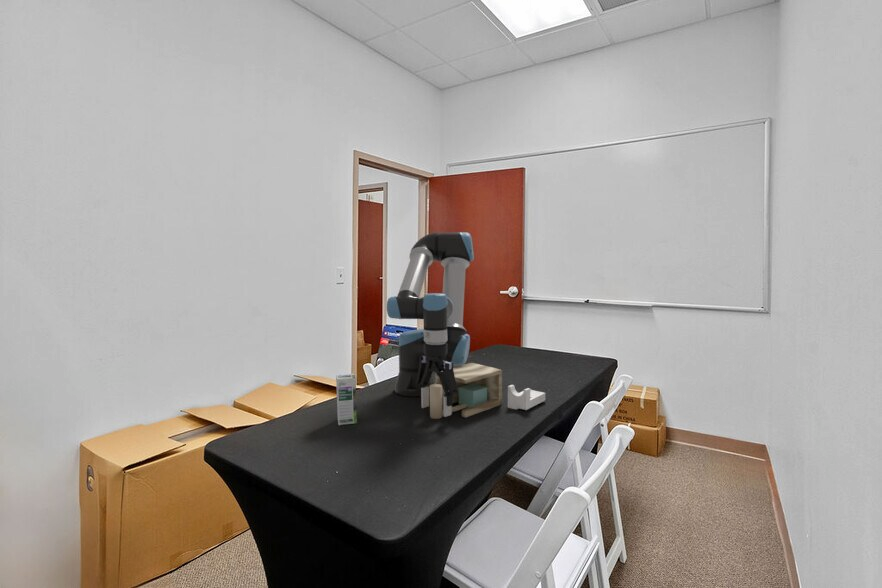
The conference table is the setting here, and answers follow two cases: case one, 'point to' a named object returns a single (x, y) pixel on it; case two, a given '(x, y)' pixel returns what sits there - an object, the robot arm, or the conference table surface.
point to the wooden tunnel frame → (480, 377)
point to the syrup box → (346, 399)
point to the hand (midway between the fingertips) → (436, 411)
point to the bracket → (524, 398)
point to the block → (467, 398)
